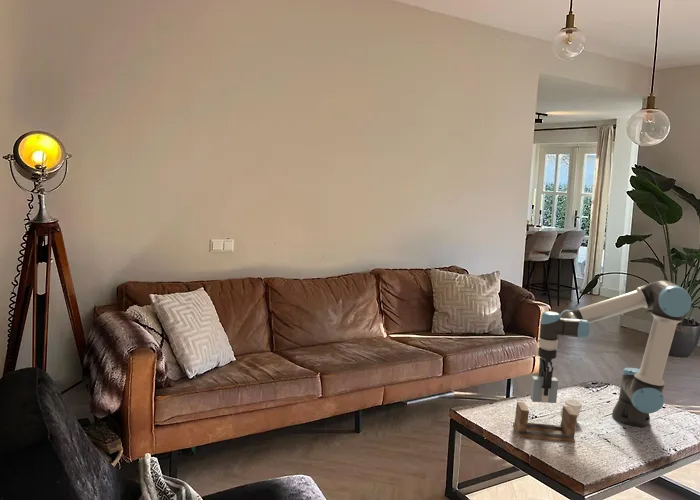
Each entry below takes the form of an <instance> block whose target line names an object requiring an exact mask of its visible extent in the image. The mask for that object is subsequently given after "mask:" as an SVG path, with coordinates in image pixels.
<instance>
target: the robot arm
mask: <svg viewBox="0 0 700 500" xmlns="http://www.w3.org/2000/svg"><path fill="white" fill-rule="evenodd" d="M641 308H643V309H650V308H651V310H650V311H651V312H650V314H651V316H652V317H653V320H652V324H651V326H650V330H649V335H648V338H647V342H646V345H645V351H644V354H643V357H642V360H641V363H640V367H639V368H636V367H625V368H623V370H622V373H621V381H620V388H619V394H618V400H617V402H616V404H615V405H614V407H613V409H612V412H611V414H612V415H611V416H612V417H613V419H615V420H617V422H620V423H622V424H625V425H628V426H632V427H648V426H649V425H650V421H651V415H650V414H654V413H656V412H659V411H660V410H661V409H662V407H663V406H664V404H665V398H664V395H663V392H664V387H665V385H666V384H665V383H666V382H664V380H663V376H664V372H665V368H666V364H667V361H668V357H669V354H670V352H671V351H670V350H671V348H672V347H671V346H672V342H673V341H674V340H673V339H674V336H675V332H676V329H677V326H678V324H679V323H682V322H683V320H684V317H685V315H686V314H688V312H689V311H690V310H691V308H692V297H691V296H690V294H689V292H688V291H687V290H686V289H685V288H683V287H682V286H680V285H677V284H676V283H674V282H673V281H669V280H657V281H654V282H649V283H648V284H644V285H640V286H638V287H636V289H635V290H633V291H630V292H627V293H624V294H621V295H617V296H614V297H611V298H608V299H605V300H601V301H599V302H594V303H592V304H588V305H586V306H582V307H579V308H576V309H572V310H571V309H565V310H563V311H562V312H561V313H558V312H557V311H549V310H548V311H547V310H546V311H544V312H542V313H541V318H540V322H539V323H540V324H539V325H540V326H539V339H537V343H538V346H539V347H538V349H537V350H538V351H537V355H538V357H539V366H538V367H539V368H538V377H544V378H543V386H541V387H542V396H541V402H540V403H548V396H549V389H551V383H552V377H553V373H554V367H553V361H552V360H553V359H556V358H557V353H558V350H557V349H558V343H559V336H561V337H570V338H578V339H579V338H582V339H584V338H585V339H586V338H589V336H590V330H591V328H590V327H591V326H590V324H592V323H595V322H597V321H598V322H599V321H601V320H606V319H608V318H611V317H615V316H617V315H622V314H625V313H628V312H632V311H635V310H638V309H641ZM548 404H549V403H548Z"/></svg>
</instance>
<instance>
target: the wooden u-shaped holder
mask: <svg viewBox="0 0 700 500" xmlns="http://www.w3.org/2000/svg"><path fill="white" fill-rule="evenodd" d="M515 407H516V409H515V415H514V416H515V417H514V422H513V423H512V425H513V427H514V430H515V432H516V434H517V436H518V438H519V439H529V440H537V441H538V440H539V441H549V442H550V441H551V442H561V443H572V444H575V443H576V439H575V435H576V427H577V421H578V420H577V419H578V418H577V414H576V413H575V412H574V410H573V409H572V407H571V406H564V405H563V406H562V407H563V413H562V417H561V422H560V425H555V424H545V423H536V422H535V423H534V422H532V423H531V422H528V421H529V414H530V413H529V412H530V411H529V409H528V406H527V405H526V403H525V402H524V401H516V405H515ZM576 420H577V421H576Z"/></svg>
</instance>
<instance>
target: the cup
mask: <svg viewBox="0 0 700 500" xmlns="http://www.w3.org/2000/svg"><path fill="white" fill-rule="evenodd" d="M564 403H565V405H563V406H571V407H572V409H573V410H574V412H575V413H576V414H577V419H578V418H579V415H580V413H581V409H582V406H583V403H582V402H581V401H579V400H576V399H571V398H568V399H565V400H564ZM563 406H562V407H561V409H560V417H561V418H562V413H563ZM577 421H578V420H576V422H577Z"/></svg>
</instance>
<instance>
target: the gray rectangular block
mask: <svg viewBox="0 0 700 500" xmlns="http://www.w3.org/2000/svg"><path fill="white" fill-rule="evenodd" d="M543 378H544V377H539V376H538V375H537V376H536V375H533V376H531V385H530V386H531V388H530V397H529V398H530V400H531V401H532V402H533V403H542V402H541V396H542V387H541V386H543ZM558 387H559V380H558V378H557V377H555V376H552V383H551V389H549V396H548V404H550V403H551V404H557V399H558V398H557V397H558Z"/></svg>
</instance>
